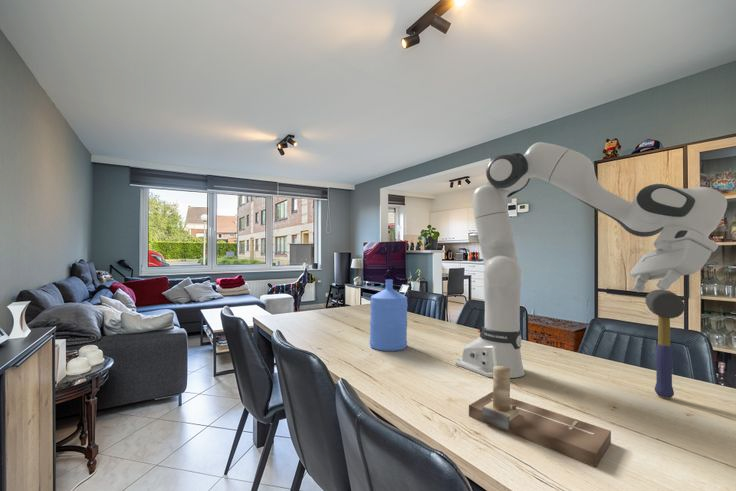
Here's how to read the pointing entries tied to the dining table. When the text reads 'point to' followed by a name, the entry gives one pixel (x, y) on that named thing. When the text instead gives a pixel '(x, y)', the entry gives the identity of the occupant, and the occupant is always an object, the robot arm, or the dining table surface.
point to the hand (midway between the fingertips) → (648, 289)
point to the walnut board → (553, 430)
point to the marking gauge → (500, 400)
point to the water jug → (388, 319)
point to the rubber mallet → (664, 337)
